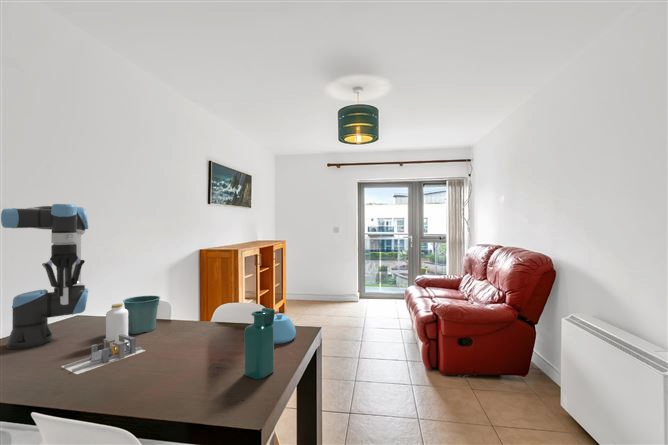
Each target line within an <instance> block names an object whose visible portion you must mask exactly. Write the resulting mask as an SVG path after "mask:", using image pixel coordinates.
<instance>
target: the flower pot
mask: <svg viewBox="0 0 668 445" xmlns="http://www.w3.org/2000/svg"><path fill="white" fill-rule="evenodd" d="M160 299H161V296H160V295H140V296H138V295H137V296H133V297H128V298H125V299H123V300H122V302H123V304H124V305H123V307H124V309H127V310H128V334H135V335H138V334H143V333H149V332H152V331H154V330H155V329H156V326H157V325H156V324H157V318H158V317H157V315H158V308H159V307H158V306H159V305H160V304H159V303H160Z"/></svg>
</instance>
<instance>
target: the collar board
mask: <svg viewBox="0 0 668 445" xmlns="http://www.w3.org/2000/svg"><path fill="white" fill-rule="evenodd" d="M125 340H128V342H129V341H130V350H129V351H126V352H124V345H125ZM136 341H137V338H136V337H134V336H130V335H128V336H127V335H124V334H121V335H119V341H115V339H112V338H106V337H105V338H103V348H102V349H101V350H102V359H101V360H98V361H95V362H92V363H91V361H90V356H89V357H86V358H83V359H80V360H76V361H73V362H71V363H67V364H64V365H61V366H60V367H61V368H62V369H65V370H67V371H69V372H71V373H73V374H75V375H79V374H82V373H85V372H89V371H91V370H94V369H97V368H100V367H102V366H105V365H108V364H112V363H115V362H118V361H121V360H123V359H126V358H129V357H131V356H135V355H138V354H141V353H143V352H146V350H145V349H143V347H142V346H139V347H136V346H137V343H136ZM112 342H113V345H116V346H118V354H117V355H114V356H111V357H109V349H108V348H109V347H111V346H110V343H112ZM98 346H99V345H98V344H91V346H90V347H91V353H92V352H96V351H99V350H98V348H99V347H98ZM91 353H90V354H91Z"/></svg>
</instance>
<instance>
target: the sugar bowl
mask: <svg viewBox="0 0 668 445" xmlns="http://www.w3.org/2000/svg"><path fill="white" fill-rule="evenodd" d="M272 326H273V329H274V345H275V344H277V345H279V344H285V343H286V344H287V343H289V342H291V341H292V340H293V339H294V338H295V337H296V335H297V333H296V332H297V330H296V326H295V324H294V322H293V321H292V319H291V318H290V317H289V316H287V315H284V314H283V313H280V312H279V313H276V315H274V322H273V324H272Z"/></svg>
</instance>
